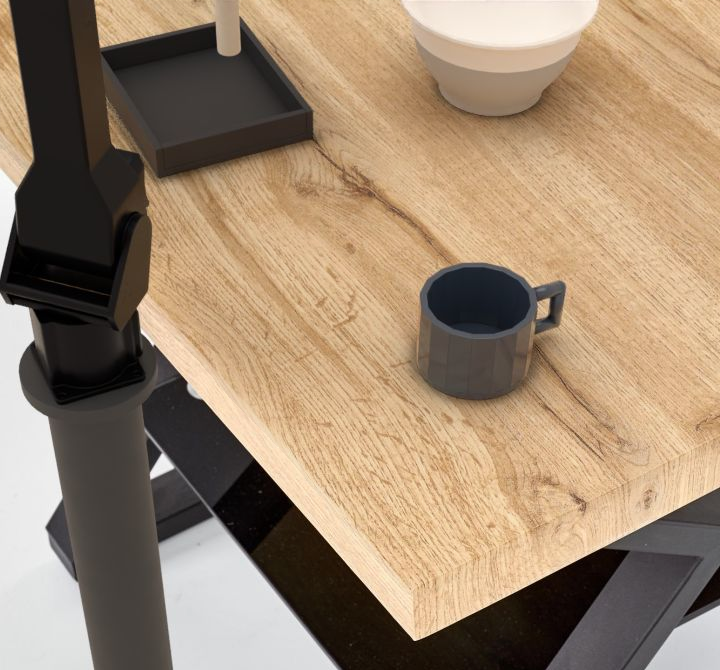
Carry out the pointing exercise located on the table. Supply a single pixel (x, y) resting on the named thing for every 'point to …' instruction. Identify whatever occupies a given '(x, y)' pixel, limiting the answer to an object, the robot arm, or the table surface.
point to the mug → (481, 328)
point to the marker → (227, 27)
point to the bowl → (497, 48)
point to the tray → (202, 98)
